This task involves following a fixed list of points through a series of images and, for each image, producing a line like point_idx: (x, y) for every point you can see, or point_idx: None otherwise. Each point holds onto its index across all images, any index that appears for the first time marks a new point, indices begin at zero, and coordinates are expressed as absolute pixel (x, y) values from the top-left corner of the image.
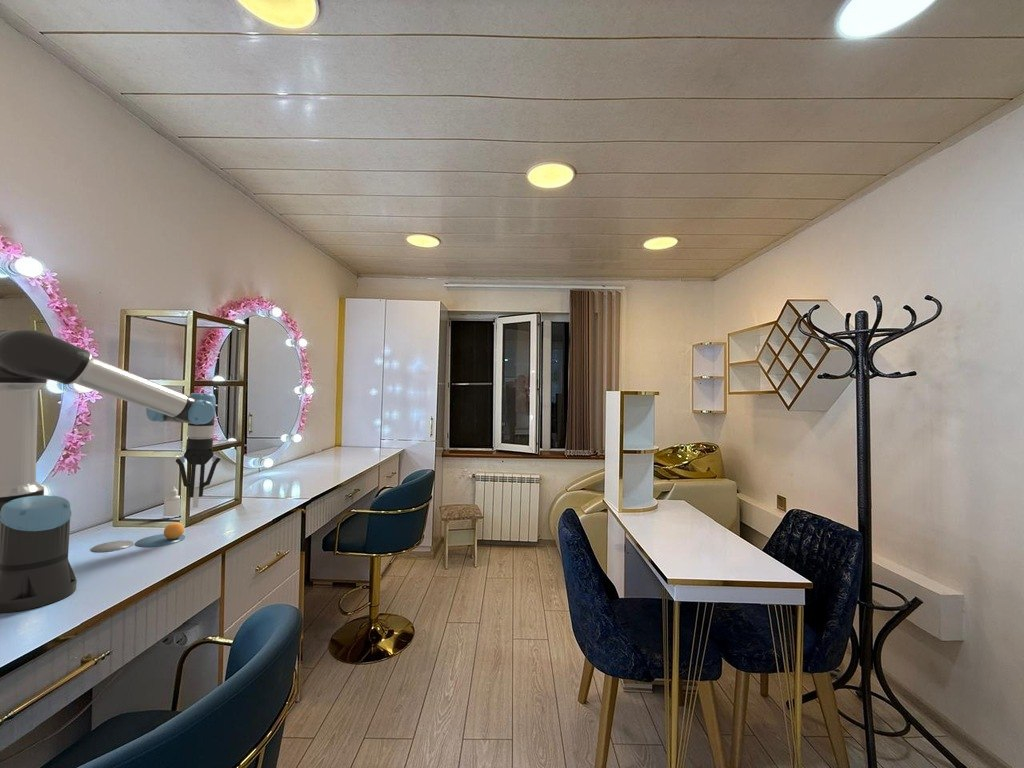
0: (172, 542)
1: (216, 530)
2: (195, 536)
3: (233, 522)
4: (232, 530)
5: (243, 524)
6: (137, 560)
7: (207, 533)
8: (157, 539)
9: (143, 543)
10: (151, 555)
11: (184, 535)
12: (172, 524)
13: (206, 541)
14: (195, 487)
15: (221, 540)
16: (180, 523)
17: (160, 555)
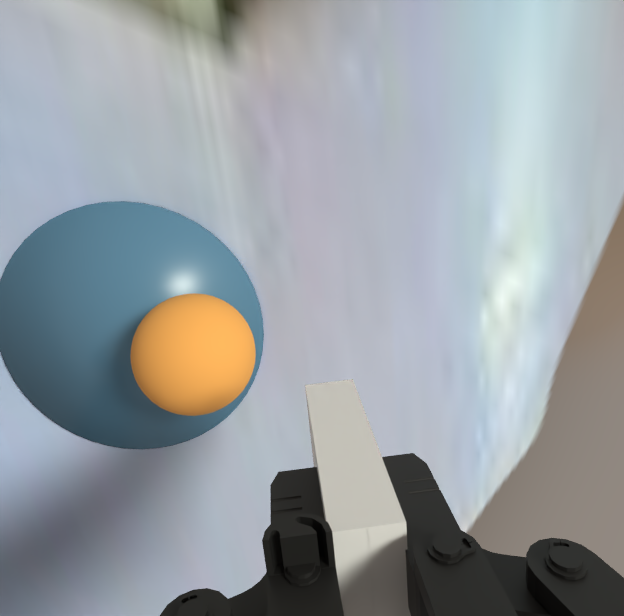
0: (213, 413)
1: (437, 228)
2: (321, 322)
3: (557, 37)
4: (531, 269)
5: (614, 135)
6: (119, 613)
7: (385, 281)
8: (110, 322)
9: (53, 376)
10: (160, 568)
11: (255, 293)
12: (177, 400)
13: (388, 442)
14: (353, 581)
15: (462, 451)
16: (225, 365)
17: (201, 581)
